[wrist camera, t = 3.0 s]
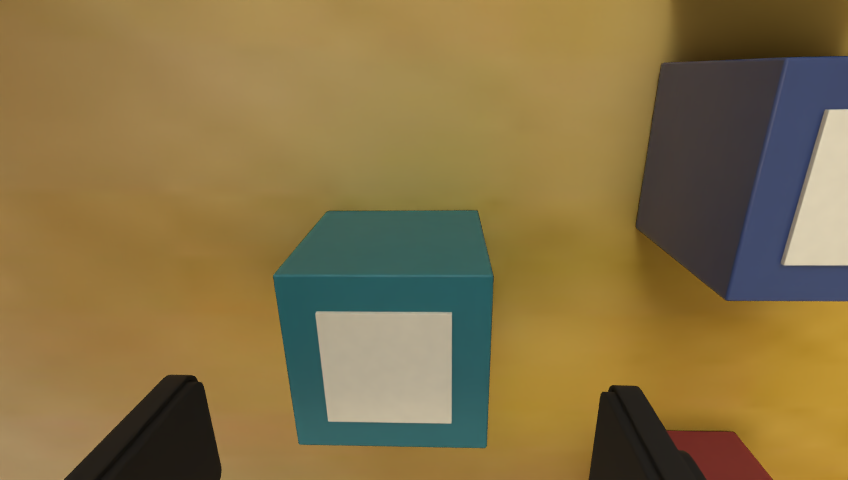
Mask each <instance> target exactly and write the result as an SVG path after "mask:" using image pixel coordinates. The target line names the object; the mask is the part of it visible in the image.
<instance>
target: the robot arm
mask: <svg viewBox="0 0 848 480" xmlns="http://www.w3.org/2000/svg"><path fill="white" fill-rule="evenodd" d="M221 471H222V469H221V463H220V459H219V454H218V449H217V445H216V440H215V436H214V431H213V426H212V422H211V417H210V413H209V408H208V403H207V399H206V394H205V390H204V386H203V384H202V383H201V382H198V380H197V378H196V377H195V376H192V375H168V376H166V377H165V378H163V379H162V380H161V381H160V382H159V383H158V384H157V385H156V386H155V387H154V389H153V390H152V391H151V392H150V393H149V394H148V395H147V396H146V397H145V398H144V399H143V400H142V401H141V402H140V403H139V404H138V405H137V406H136V407H135V408H134V409H133V410H132V411H131V412H130V413H129V414H128V415H127V416H126V417H125V418H124V419H123V420H122V421H121V422H120V423H119V424H118V425H117V426H116V427H115V428H114V429H113V430H112V431H111V432H110V433H109V434H108V435H107V436H106V437H105V438H104V439H103V440H102V441H101V442H100V443H99V444H98V445H97V446H96V447H95V448H94V449H93V451H92V452H91V453H90V454H89V455H88V456H87V457H86V458H85V459H84V460H83V461H82V462H81V463H80V464H79V465H78V466H77V467H76V468H75V469H74V470H73V471H72V472H71V473H70V474H69V475H68V476H67V477H66V478H65V479H64V480H220V478H221ZM589 480H707V479H706V478H705V476H704V475H703V473H702V472H701V470H700V468H699V467H698V465H697V464H696V462H695V461H694V459H693V458H692V457H691V456H690V454H689V453H687V452H686V451H684V450H678V449H677V447H676V446H675V444H674V442H673V441H672V439H671V437H670V436H669V434H668V433H667V431H666V429H665V428H664V426H663V424H662V423H661V421H660V420H659V418H658V416H657V415H656V413H655V411H654V410H653V408H652V407H651V405H650V403H649V402H648V400H647V399H646V397H645V395H644V394H643V392H642V390H641V389H640V388H639V387H638V386H618V385H612V386H610V388H609V390H608V392H602V393H601V396H600V403H599V410H598V417H597V425H596V432H595V439H594V446H593V454H592V461H591V468H590V475H589Z"/></svg>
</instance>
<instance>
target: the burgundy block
mask: <svg viewBox="0 0 848 480" xmlns="http://www.w3.org/2000/svg"><path fill="white" fill-rule="evenodd" d="M667 433H668V434H669V436H670V437H671V439H672V441H673V442H674V444H675V446H676V447H677V449H678V450H684V451H686V452H687V453H689V454H690V456H691V457H692V458H693V459H694V461H695V462H696V464H697V465H698V467H699V468H700V470H701V472H702V473H703V475H704V476H705V478H706V479H707V480H773V479H772V478H771V477H770V476H769V474H768V473H767V472H766V471H765V469H764V468H763V467H762V466H761V464H760V463H759V462H758V461H757V459H756V458H755V457H754V456H753V454H752V453H751V452H750V451H749V450H748V448H747V447H746V446H745V445H744V443H743V442H742V441H741V440H740V438H739V437H738V436H737V435H736V433H735V432H718V431H667Z"/></svg>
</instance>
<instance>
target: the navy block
mask: <svg viewBox="0 0 848 480" xmlns="http://www.w3.org/2000/svg"><path fill="white" fill-rule="evenodd" d="M636 228H637V229H638V230H639V231H641V232H642V233H643V234H644V235H646V236H647V237H648V238H649V239H650V240H652V241H653V242H654V243H655V244H657V245H658V246H659V247H660V248H662V249H663V250H664V251H665V252H666V253H668V254H669V255H670V256H671V257H673V258H674V259H675V260H676V261H678V262H679V263H680V264H681V265H683V266H684V267H685V268H686V269H687V270H689V271H690V272H691V273H692V274H694V275H695V276H696V277H697V278H699V279H700V280H701V281H702V282H704V283H705V284H706V285H707V286H708V287H710V288H711V289H712V290H713V291H715V292H716V293H717V294H718V295H720V296H721V297H722V298H723V299H724V300H727V301H848V56H822V57H781V58H759V59H736V60H714V61H691V62H668V63H662V65H661V70H660V76H659V83H658V89H657V95H656V102H655V108H654V114H653V121H652V127H651V133H650V140H649V146H648V152H647V159H646V165H645V171H644V178H643V184H642V190H641V197H640V203H639V209H638V215H637V222H636Z"/></svg>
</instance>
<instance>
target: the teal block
mask: <svg viewBox="0 0 848 480" xmlns="http://www.w3.org/2000/svg"><path fill="white" fill-rule="evenodd" d="M273 279H274V286H275V292H276V299H277V305H278V312H279V318H280V325H281V331H282V338H283V345H284V351H285V358H286V364H287V371H288V377H289V384H290V390H291V397H292V403H293V410H294V416H295V423H296V430H297V436H298V443H299V444H300V445H348V446H400V447H452V448H486V446H487V429H488V404H489V380H490V355H491V330H492V306H493V281H494V276H493V272H492V268H491V264H490V259H489V255H488V251H487V247H486V243H485V239H484V235H483V231H482V226H481V222H480V218H479V214H478V211H476V210H454V211H327V212H326V213H325V214H324V215H323V217H322V218H321V219H320V220H319V221H318V223H317V224H316V225H315V226H314V227H313V229H312V230H311V231H310V232H309V233H308V234H307V236H306V237H305V238H304V239H303V240H302V242H301V243H300V244H299V245H298V246H297V247H296V249H295V250H294V251H293V252H292V253H291V255H290V256H289V257H288V258H287V259H286V260H285V262H284V263H283V264H282V265H281V266H280V268H279V269H278V270H277V271H276V272H275V274H274V275H273Z"/></svg>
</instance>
